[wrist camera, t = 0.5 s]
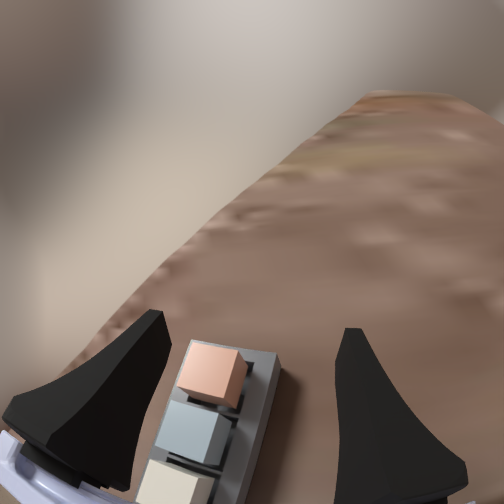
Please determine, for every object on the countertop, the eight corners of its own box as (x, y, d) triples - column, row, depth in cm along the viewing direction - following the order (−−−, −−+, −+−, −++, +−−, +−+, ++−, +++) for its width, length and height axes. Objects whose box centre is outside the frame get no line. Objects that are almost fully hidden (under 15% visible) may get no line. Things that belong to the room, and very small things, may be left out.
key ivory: (201, 518, 16) (183, 523, 13) (158, 500, 17) (135, 501, 14) (214, 478, 18) (198, 478, 16) (170, 463, 20) (149, 459, 17)
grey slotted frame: (233, 535, 16) (222, 542, 14) (150, 504, 19) (132, 504, 17) (281, 366, 28) (276, 353, 26) (202, 353, 31) (191, 339, 28)
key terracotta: (236, 408, 23) (223, 398, 20) (193, 398, 24) (176, 385, 21) (248, 366, 25) (238, 350, 23) (206, 358, 27) (192, 342, 24)
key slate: (218, 465, 19) (202, 463, 17) (175, 450, 20) (154, 445, 18) (232, 422, 22) (218, 413, 19) (188, 410, 23) (170, 399, 21)
